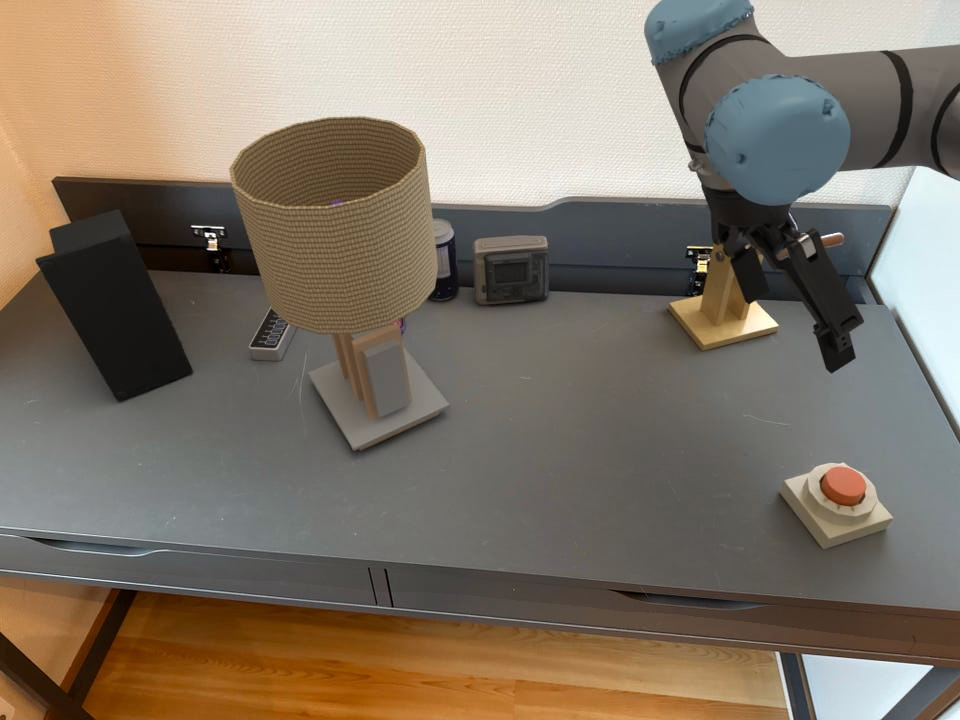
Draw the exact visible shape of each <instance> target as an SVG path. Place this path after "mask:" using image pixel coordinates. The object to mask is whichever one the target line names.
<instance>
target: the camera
mask: <svg viewBox="0 0 960 720" xmlns="http://www.w3.org/2000/svg"><path fill="white" fill-rule="evenodd" d="M471 250H472V252H473V256H472V270H473V271H472V273H473V284H474V293H475V300H476V302H477V303H478V304H479V305H481V306H482V305H496V304H497V305H498V304H507V303H508V304H509V303H520V302H521V303H523V302H528V301H540V300H548V298H549V296H550V244H549V240H548V239H547V237H546V236H544V235H525V234H524V235H523V234H520V235H506V236H496V237H495V236H494V237H484V238H477V239H476V240H475V241H474V242H473V243H472V244H471Z"/></svg>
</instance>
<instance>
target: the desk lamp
mask: <svg viewBox="0 0 960 720" xmlns="http://www.w3.org/2000/svg"><path fill="white" fill-rule="evenodd" d="M426 153H427V152H426V147H425V145H424V143H423V142H422V140H421V139H420V137H419V135H418V134H417V133H416V131H414V130H411V129H410V128H407V127H405V126H403V125H402V124H399V123H397V122H396V121H392V120H388V119H382V118H375V117H371V116H363V115H358V116H357V115H356V116H328V117H327V116H326V117H322V118H317V119H311V120H305V121H301V122H296V123H293V124H290V125H287V126H285V127H281V128H279V129H277V130H275V131H271V132H269V133H266V134H263V135H262V136H261V137H259V138H258V139H256V140H254V141H253V142H252V143H250V144H248V145H247V146H246V147H244V148H243V149H241V150H240V151H239V153H238V154H237V156H236V157H235V159H234V160H233V162H232V164H230V166H229V168H228V171H229V176H230V181H231V187H232V191H233V193H234V197H235V199H236V203H237V207H238V209H239V212H240V215H241V218H242V221H243V225H244V228H245V230H246V234H247V237H248V240H249V243H250V247H251V249H252V252H253V255H254V259H255V262H256V265H257V268H258V271H259V274H260V277H261V281H262V283H263V287H264V290H265V293H266V297H267V300H268V303H269V306H270V307H271V309H272V310H273V311H274V312H275V313H276V314H277V315H279V316H280V317H281V318H282V319H283V320H284V321H285V322H286V323H288V324H289V325H291V326H294V327H297V329H301V330H305V331H308V332H311V333H313V334H317V335H331V338H332V342H333V346H334V349H335V353H336V354H335V355H336V358H337V360H334V361H333V362H330V363H328V364H325V365H323V366H321V367H318V368H316V369H313V370H311V371H308V372H307V375H308V377H309V379H310V380H311V382H312V384H313V385H314V387H315V389H316V391H317V392H318V394H319V395H320V397H321V399H322V400H323V403H324V404H325V405H326V407H327V409H328V410H329V412H330V414H331V415H332V417H333V419H334V420H335V422H336V424H337V425H338V427H339V429H340V431H341V432H342V433H343V434H342V435H344V437H345V439H346V440H347V443H348V444H349V445H350V448H351V449H352V451H353V452H356V451H358V450H359V451H360V452H361V451H363V450H365V449H368V448H369V447H372V446H374V445H376V444H378V443H381V442H383V441H385V440H387V439H389V438H391V437H393V436H396V435H398V434H401V433H403V432H405V431H407V430H409V429H411V428H413V427H416V426H418V425H420V424H422V423H424V422H426V421H428V420H431V419H432V418H435V417H438V416H439V415H440V412H443V411H445V410H446V409H449V408H450V407H451V406H450V403H449V402H448V400H447V399H446V397H444V396H443V394H442V393H441V392H440V391H439V389H438V388H437V386H436V385H435V384H434V383H433V382H432V380H431V379H430V378H429V376H428V375H427V374H426V373H425V372H424V370H423V369H422V368H421V366H420V365H419V363H418V362H417V361H416V360H415V358H414V357H413V355H411V353H410V352H409V350H407V348H406V347H405V346H404V343H403V337H402V332H401V330H400V327H399V325H398V324H397V323H396V324H393V323H394V322H396V321H398V320H400V319H401V318H403V317H404V318H405V317H406V316H409V315H410V314H412V313H414V312H415V311H418V309H420V307H421V306H422V305H424V303H425V302H426V300H427V299H428V298H429V297H428V296H429V295H430V294H431V293H432V292H433V291H434V289H435V284H436V278H437V272H438V264H437V254H436V245H435V236H434V226H433V219H434V217H433V210H432V209H433V208H432V200H431V191H430V190H431V189H430V181H429V172H428V161H427V154H426ZM391 324H393V325H391ZM389 325H391V326H389Z"/></svg>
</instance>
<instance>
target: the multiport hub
mask: <svg viewBox="0 0 960 720" xmlns="http://www.w3.org/2000/svg"><path fill="white" fill-rule="evenodd" d="M297 329H298V328H297V327H294V326H291V325H289V324H288V323H286V322H285V321H284V320H283V319H282V318H281V317H280V316H279V315H277V314H276V313H275V312H274V311H273V310H272V309H271V306H270V307H269V309H268V311H267V313H266V314H265V315H264V318H263V320H262V322H261V323H260V325H259V327H258V329H257V330H256V332H255V334H254V335H253V337H252V339H251V341H250V342H249V344H248V349H249V353H250V355H251V358H252V360H254V361H267V362H280V361H282V360H283V358H284V356H285V354H286V351H287V349H288V348H289V346H290V343H291V342H292V339H293V338H294V335H295V334H296V331H297Z"/></svg>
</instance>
